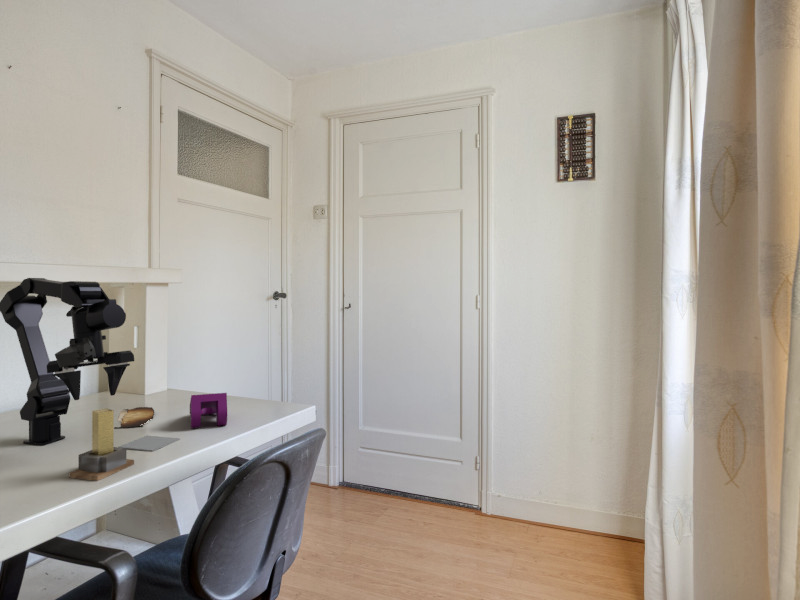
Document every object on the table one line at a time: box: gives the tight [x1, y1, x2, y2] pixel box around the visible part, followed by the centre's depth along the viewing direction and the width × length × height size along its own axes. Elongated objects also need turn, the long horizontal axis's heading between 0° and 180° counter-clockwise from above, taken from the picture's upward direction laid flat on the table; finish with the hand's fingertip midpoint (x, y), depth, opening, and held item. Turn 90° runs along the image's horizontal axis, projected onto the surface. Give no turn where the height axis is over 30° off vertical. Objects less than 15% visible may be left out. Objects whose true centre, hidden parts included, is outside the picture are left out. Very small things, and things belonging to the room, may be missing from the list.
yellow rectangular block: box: [91, 408, 114, 456], centre depth 107 cm, size 3×3×13 cm
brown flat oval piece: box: [113, 406, 155, 429], centre depth 152 cm, size 25×10×1 cm, turn 24°
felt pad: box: [118, 435, 181, 452], centre depth 126 cm, size 10×10×1 cm
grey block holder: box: [68, 446, 135, 482], centre depth 108 cm, size 7×10×4 cm
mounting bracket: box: [189, 392, 228, 429], centre depth 148 cm, size 9×8×18 cm
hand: (94, 397), depth 119 cm, fingers open, 9 cm apart
